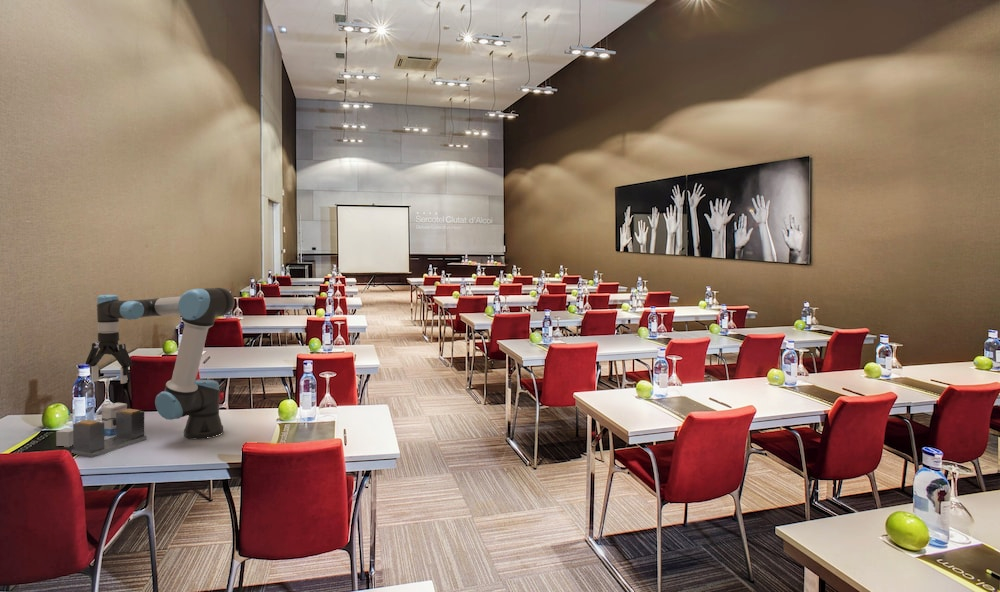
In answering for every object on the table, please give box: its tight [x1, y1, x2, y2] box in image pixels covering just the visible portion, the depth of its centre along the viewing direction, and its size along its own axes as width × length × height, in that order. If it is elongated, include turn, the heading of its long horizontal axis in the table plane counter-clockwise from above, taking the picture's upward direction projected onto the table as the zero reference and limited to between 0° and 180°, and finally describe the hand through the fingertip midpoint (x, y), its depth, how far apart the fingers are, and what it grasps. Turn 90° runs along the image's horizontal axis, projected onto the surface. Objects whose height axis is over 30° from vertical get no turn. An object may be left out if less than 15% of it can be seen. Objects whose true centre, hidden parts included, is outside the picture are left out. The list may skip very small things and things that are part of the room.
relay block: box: [55, 427, 73, 448], centre depth 241 cm, size 5×5×6 cm
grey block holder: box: [71, 408, 147, 458], centre depth 241 cm, size 10×24×12 cm, turn 163°
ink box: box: [101, 402, 128, 436], centre depth 258 cm, size 8×5×12 cm, turn 168°
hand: (109, 382), depth 258 cm, fingers open, 13 cm apart
